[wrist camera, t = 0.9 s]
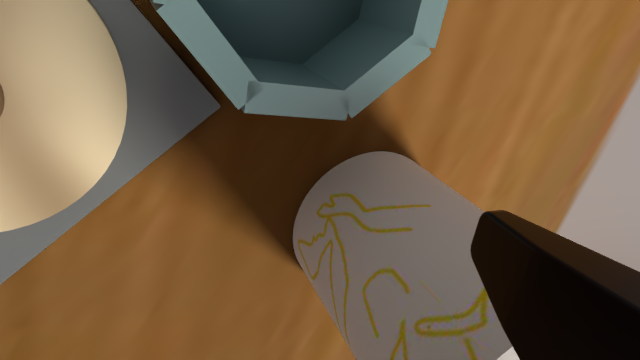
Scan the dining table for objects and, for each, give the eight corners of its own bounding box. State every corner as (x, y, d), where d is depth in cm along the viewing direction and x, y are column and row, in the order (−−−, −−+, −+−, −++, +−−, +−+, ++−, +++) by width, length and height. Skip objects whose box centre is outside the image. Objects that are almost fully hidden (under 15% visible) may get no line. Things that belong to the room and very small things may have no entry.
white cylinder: (325, 135, 22) (511, 301, 12) (454, 167, 25) (677, 311, 15) (271, 282, 24) (387, 523, 14) (397, 290, 28) (557, 484, 18)
